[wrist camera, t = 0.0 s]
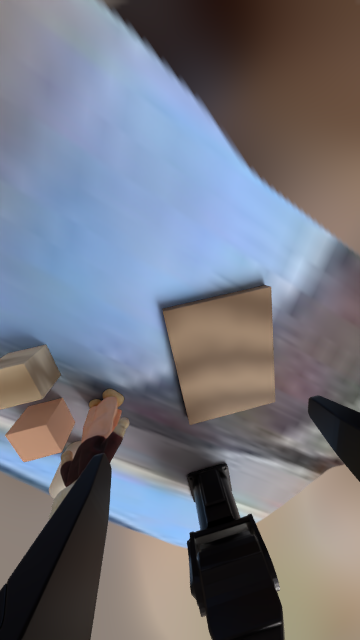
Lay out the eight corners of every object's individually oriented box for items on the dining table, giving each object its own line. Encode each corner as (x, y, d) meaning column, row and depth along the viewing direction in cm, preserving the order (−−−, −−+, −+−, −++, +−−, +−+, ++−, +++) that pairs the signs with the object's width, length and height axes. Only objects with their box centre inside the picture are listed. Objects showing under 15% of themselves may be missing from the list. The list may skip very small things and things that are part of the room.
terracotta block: (75, 422, 25) (61, 452, 21) (43, 430, 24) (23, 462, 21) (62, 397, 23) (45, 424, 20) (28, 405, 23) (4, 435, 19)
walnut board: (270, 395, 28) (275, 401, 26) (188, 417, 27) (189, 424, 26) (265, 285, 22) (271, 286, 21) (162, 308, 21) (162, 311, 20)
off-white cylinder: (101, 458, 27) (92, 495, 23) (72, 465, 27) (57, 505, 23) (91, 437, 26) (79, 473, 21) (60, 445, 25) (42, 483, 21)
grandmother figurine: (101, 426, 25) (57, 579, 13) (76, 412, 24) (3, 566, 12) (142, 388, 24) (133, 517, 12) (118, 371, 23) (82, 495, 11)
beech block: (61, 374, 22) (43, 398, 19) (25, 383, 22) (-1, 409, 18) (46, 344, 21) (23, 363, 17) (8, 352, 21) (-24, 374, 17)
